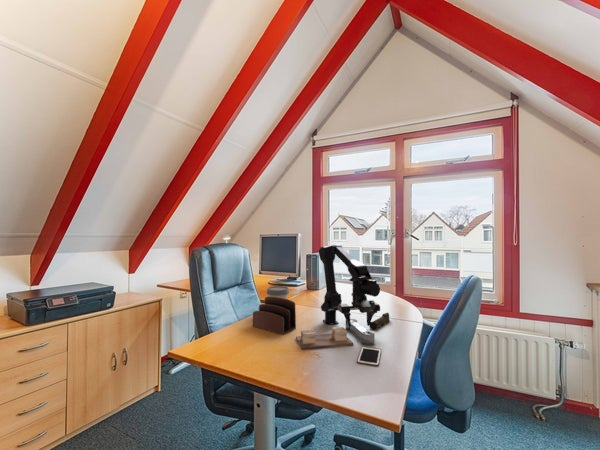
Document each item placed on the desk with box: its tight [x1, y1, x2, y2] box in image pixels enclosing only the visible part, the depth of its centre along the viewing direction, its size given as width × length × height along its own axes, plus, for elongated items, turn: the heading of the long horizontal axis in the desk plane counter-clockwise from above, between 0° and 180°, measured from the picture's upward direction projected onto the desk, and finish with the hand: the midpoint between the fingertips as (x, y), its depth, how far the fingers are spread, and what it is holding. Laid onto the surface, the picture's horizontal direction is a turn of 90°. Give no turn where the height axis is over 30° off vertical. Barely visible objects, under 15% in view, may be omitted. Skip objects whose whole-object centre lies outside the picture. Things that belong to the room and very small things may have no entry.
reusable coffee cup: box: [266, 285, 290, 300], centre depth 162 cm, size 13×13×15 cm
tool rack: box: [295, 326, 354, 351], centre depth 122 cm, size 12×22×5 cm, turn 102°
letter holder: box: [252, 296, 297, 336], centre depth 140 cm, size 10×20×14 cm, turn 55°
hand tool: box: [368, 312, 390, 331], centre depth 145 cm, size 19×4×5 cm, turn 137°
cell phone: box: [356, 346, 382, 368], centre depth 109 cm, size 8×15×1 cm, turn 160°
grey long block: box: [345, 318, 376, 347], centre depth 130 cm, size 24×6×4 cm, turn 12°
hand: (358, 326), depth 130 cm, fingers open, 9 cm apart
